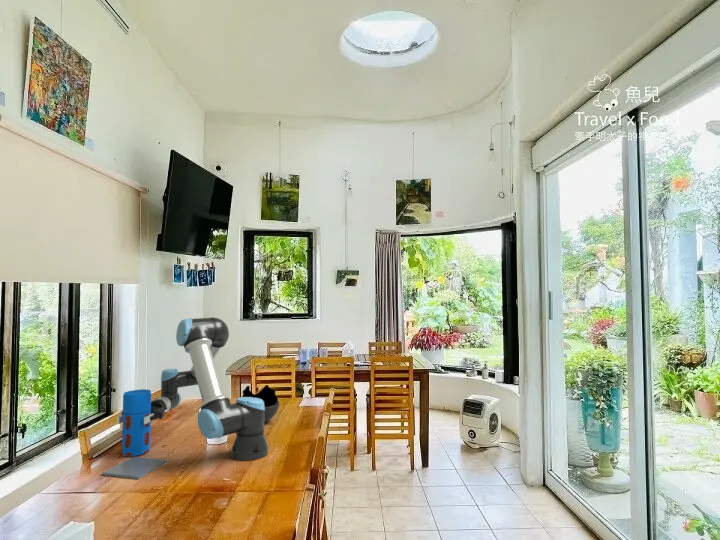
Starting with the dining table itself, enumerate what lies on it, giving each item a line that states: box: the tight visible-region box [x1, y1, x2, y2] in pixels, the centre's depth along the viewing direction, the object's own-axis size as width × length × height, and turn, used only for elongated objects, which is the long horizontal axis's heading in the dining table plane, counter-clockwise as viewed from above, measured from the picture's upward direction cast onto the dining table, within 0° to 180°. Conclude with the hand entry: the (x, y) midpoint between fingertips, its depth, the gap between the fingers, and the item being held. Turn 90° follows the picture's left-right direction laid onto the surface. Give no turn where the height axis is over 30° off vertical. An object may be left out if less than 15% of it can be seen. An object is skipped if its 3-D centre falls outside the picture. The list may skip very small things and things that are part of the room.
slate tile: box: [101, 456, 169, 480], centre depth 169 cm, size 16×16×1 cm
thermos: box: [121, 389, 152, 457], centre depth 186 cm, size 11×11×25 cm
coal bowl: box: [241, 384, 280, 423], centre depth 228 cm, size 20×20×19 cm
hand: (131, 420), depth 182 cm, fingers closed on thermos, 11 cm apart
